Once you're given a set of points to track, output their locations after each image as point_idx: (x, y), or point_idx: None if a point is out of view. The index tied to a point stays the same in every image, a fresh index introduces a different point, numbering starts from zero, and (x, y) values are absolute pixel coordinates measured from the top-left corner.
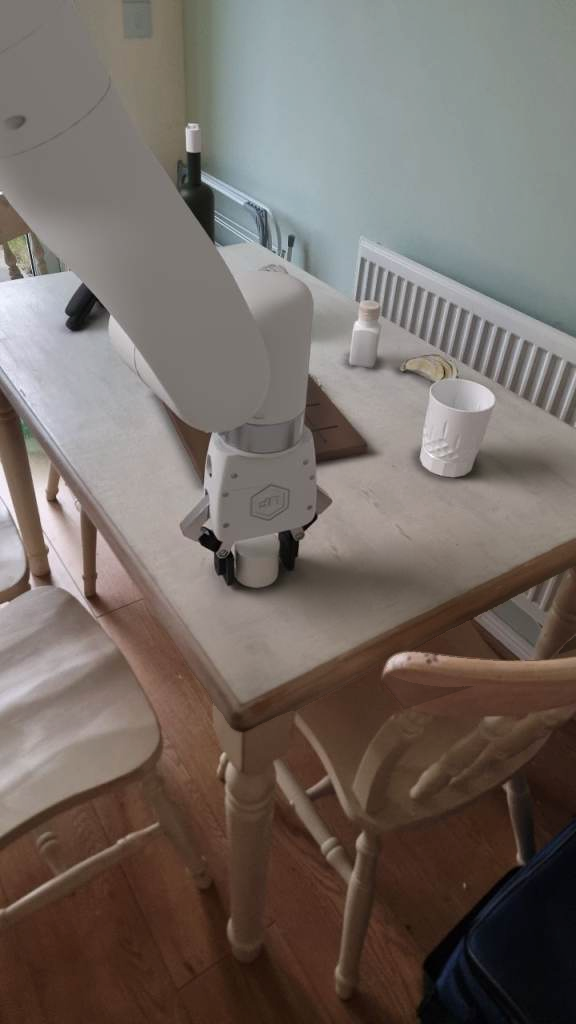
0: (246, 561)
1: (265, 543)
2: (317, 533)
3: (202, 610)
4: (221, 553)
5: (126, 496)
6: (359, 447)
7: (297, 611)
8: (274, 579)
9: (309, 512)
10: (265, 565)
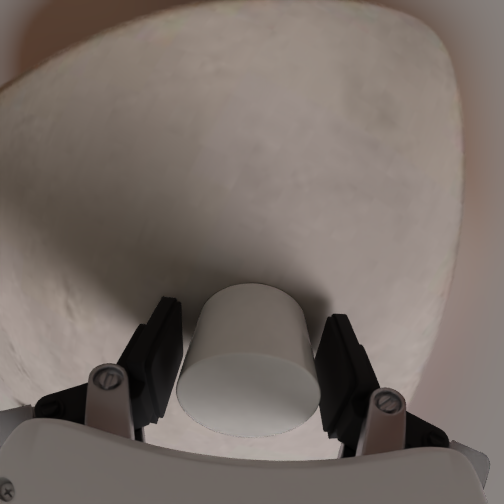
0: (309, 362)
1: (223, 397)
2: (91, 354)
3: (416, 273)
4: (392, 402)
5: None
6: None
7: (212, 167)
8: (222, 292)
9: (12, 466)
10: (254, 331)
